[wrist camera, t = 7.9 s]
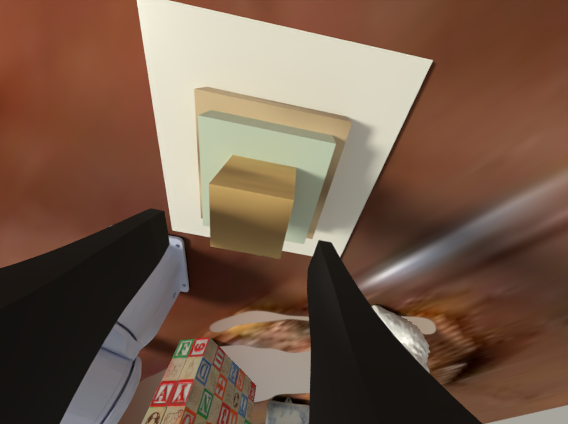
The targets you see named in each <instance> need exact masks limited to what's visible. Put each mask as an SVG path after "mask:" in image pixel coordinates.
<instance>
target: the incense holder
mask: <svg viewBox="0 0 568 424" xmlns="http://www.w3.org/2000/svg"><path fill="white" fill-rule="evenodd" d="M309 407H310V406H309V405H303V404H294V403H292V401H291V399H290V398H289V397H287V398H286V400H285V402H279V401H274V400H270V401H268V406H267V417H266V424H309Z"/></svg>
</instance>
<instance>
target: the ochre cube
mask: <svg viewBox="0 0 568 424" xmlns="http://www.w3.org/2000/svg"><path fill="white" fill-rule="evenodd" d="M295 181H296V167H291V166H286V165H281V164H276V163H271V162H266V161H261V160H256V159H251V158H246V157H241V156H236V155H232V156H231V158H230V159H229V160H228V161H227V162H226V164H225V165H224V166H223V167H222V168H221V170H220V171H219V172H218V173H217V174H216V176H215V177H214V178H213V179H212V181H211V182H210V183H209V209H210V246H211V247H217V248H222V249H228V250H233V251H239V252H244V253H250V254H255V255H261V256H266V257H272V258H277V259H280V257H281V253H282V249H283V244H284V240H285V236H286V232H287V228H288V224H289V220H290V216H291V211H292V207H293V203H294V196H295Z"/></svg>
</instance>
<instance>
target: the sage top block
mask: <svg viewBox="0 0 568 424" xmlns="http://www.w3.org/2000/svg"><path fill="white" fill-rule="evenodd" d="M198 130H199V151H200V172H201V193H202V214H203V226H209V227H210V209H209V183H210V182H211V181H212V179H213V178H214V177H215V176H216V174H217V173H218V172H219V171H220V170H221V168H222V167H223V166H224V165H225V164H226V162H227V161H228V160H229V159H230V158H231V156H232V155H236V156H241V157H246V158H251V159H256V160H261V161H266V162H271V163H276V164H281V165H286V166H291V167H296V181H295V196H294V203H293V207H292V211H291V216H290V220H289V224H288V228H287V232H286V236H285V240H284V241H289V242H294V243H300V244H304V243H305V240H306V237H307V234H308V230H309V227H310V224H311V221H312V218H313V215H314V212H315V209H316V205H317V202H318V199H319V196H320V193H321V190H322V187H323V183H324V180H325V177H326V174H327V171H328V168H329V165H330V161H331V158H332V155H333V152H334V149H335V146H336V143H335V140H334V138H333V136H332V135H329V134H325V133H320V132H315V131H310V130H305V129H301V128H296V127H291V126H286V125H281V124H277V123H272V122H267V121H262V120H257V119H253V118H248V117H243V116H238V115H233V114H229V113H224V112H219V111H214V110H209V111H207V112H204V113H202V114H200V115H198Z"/></svg>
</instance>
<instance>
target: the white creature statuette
mask: <svg viewBox="0 0 568 424" xmlns="http://www.w3.org/2000/svg"><path fill="white" fill-rule="evenodd" d="M372 308H373V309H374V311H375V312H376V313H377V315H378V316H379V317H380V318H381V320H382V321H383V322H384V323H385V325H386V326H387V327H388V328H389V330H390V331H391V332H392V333H393V334H394V335H395V337H396V338H397V339H398V340H399V341H400V342H401V343H402V345H403V346H404V347H405V348H406V349H407V350H408V351H409V352H410V353H411V355H412V356H413V357H414V358H415V359H416V360H417V361H418V362H419V363H420V364H421V365H422V366H423V367H424V368H425V369H426V370H427V371H428V372H429V373H430V370H429V368H428V367H427V358H428V353H430V350H429V349H428V348H429V345H428V343H427V341H426V340H425V338H424V336H423V333H421V332H420V330H419V329H418V327H417V326H415V325H413V324H412V323H411V322H410V321H407V319H404V318H402V317H401V316H398V315H396V314H395V313H392V312H390V311H388V310H386V309H384V308H383V307H380V306H378V305H377V306H376V305H373V306H372Z"/></svg>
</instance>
